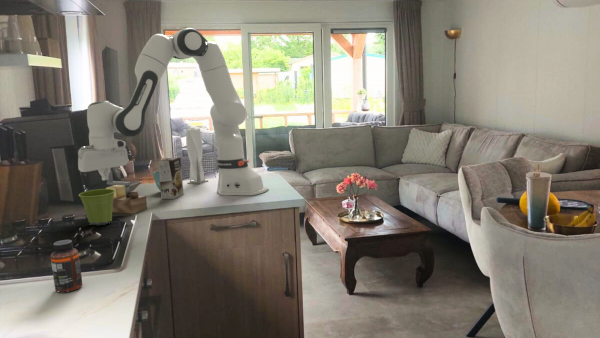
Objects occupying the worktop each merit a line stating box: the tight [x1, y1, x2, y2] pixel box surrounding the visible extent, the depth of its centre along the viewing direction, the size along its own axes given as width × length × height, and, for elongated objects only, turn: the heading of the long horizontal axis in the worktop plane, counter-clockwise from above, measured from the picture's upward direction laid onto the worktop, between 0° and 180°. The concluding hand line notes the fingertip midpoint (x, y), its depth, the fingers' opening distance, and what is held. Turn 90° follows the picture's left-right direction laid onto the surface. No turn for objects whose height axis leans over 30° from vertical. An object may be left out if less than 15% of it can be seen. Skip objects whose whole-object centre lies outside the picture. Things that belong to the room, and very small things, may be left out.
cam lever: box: [106, 170, 132, 198], centre depth 202 cm, size 11×2×10 cm, turn 60°
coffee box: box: [157, 157, 184, 200], centre depth 222 cm, size 9×6×16 cm
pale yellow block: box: [105, 185, 126, 198], centre depth 203 cm, size 5×5×4 cm
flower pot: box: [152, 170, 161, 192], centre depth 235 cm, size 9×9×9 cm
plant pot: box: [77, 188, 115, 223], centre depth 182 cm, size 12×12×11 cm
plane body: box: [112, 190, 148, 215], centre depth 202 cm, size 15×8×8 cm, turn 64°
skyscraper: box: [185, 123, 209, 185], centre depth 252 cm, size 8×8×28 cm
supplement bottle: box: [50, 239, 83, 293], centre depth 123 cm, size 6×6×11 cm
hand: (105, 180), depth 202 cm, fingers closed
